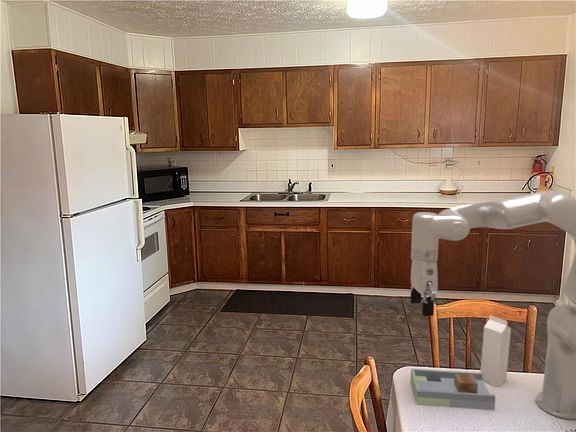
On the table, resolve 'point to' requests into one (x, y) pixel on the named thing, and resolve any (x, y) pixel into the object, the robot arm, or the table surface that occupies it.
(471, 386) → the block
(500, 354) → the milk
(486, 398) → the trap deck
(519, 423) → the table surface
